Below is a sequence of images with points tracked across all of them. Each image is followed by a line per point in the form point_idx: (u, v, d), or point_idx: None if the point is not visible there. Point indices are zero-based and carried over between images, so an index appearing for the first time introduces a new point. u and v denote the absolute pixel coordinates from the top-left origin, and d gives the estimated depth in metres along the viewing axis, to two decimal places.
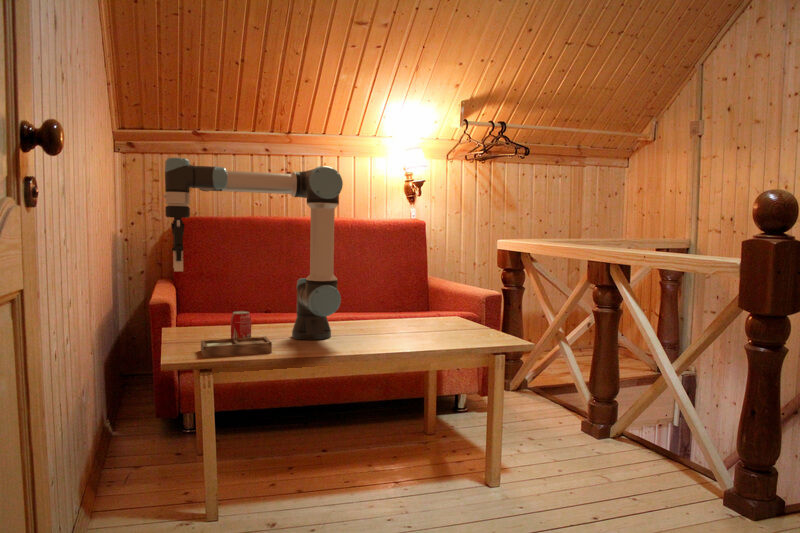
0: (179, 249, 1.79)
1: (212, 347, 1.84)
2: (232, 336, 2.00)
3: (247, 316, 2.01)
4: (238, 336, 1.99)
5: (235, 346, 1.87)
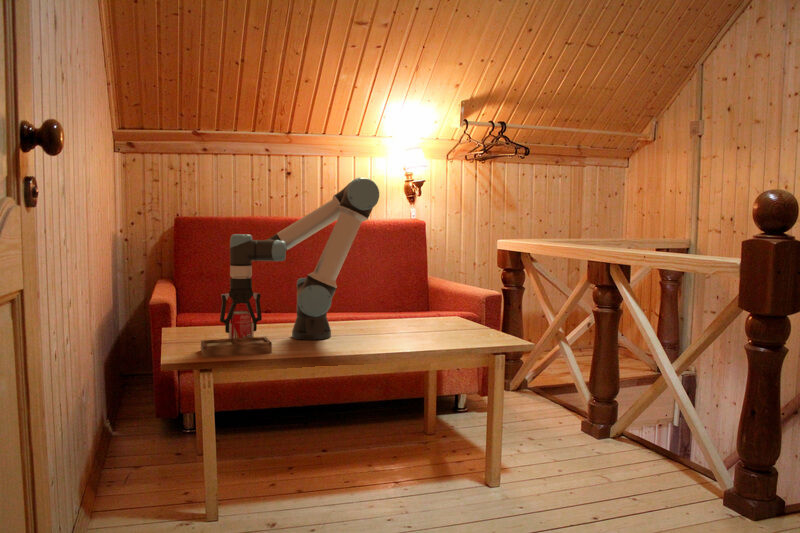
0: None
1: (212, 347, 1.84)
2: (232, 336, 2.00)
3: (247, 316, 2.01)
4: (238, 336, 1.99)
5: (235, 346, 1.87)
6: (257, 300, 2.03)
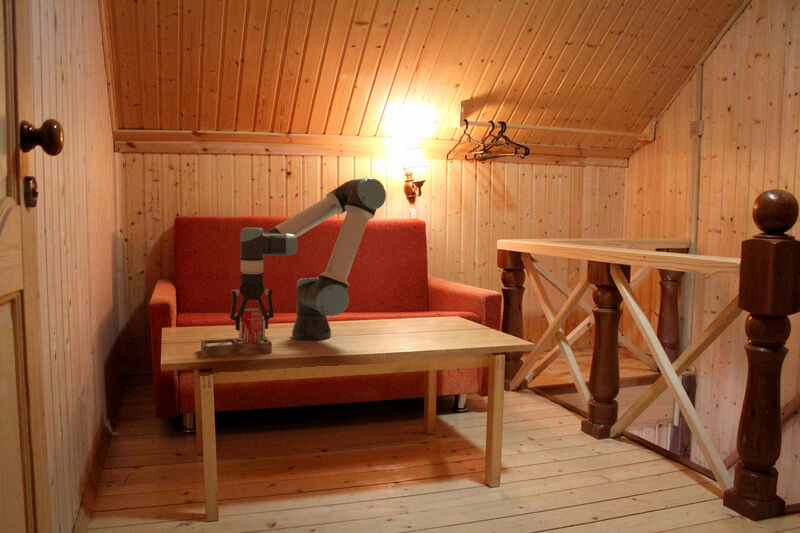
0: (232, 319, 1.91)
1: (212, 347, 1.84)
2: (243, 334, 1.92)
3: (258, 313, 1.92)
4: (249, 334, 1.91)
5: (235, 346, 1.87)
6: (269, 296, 1.95)
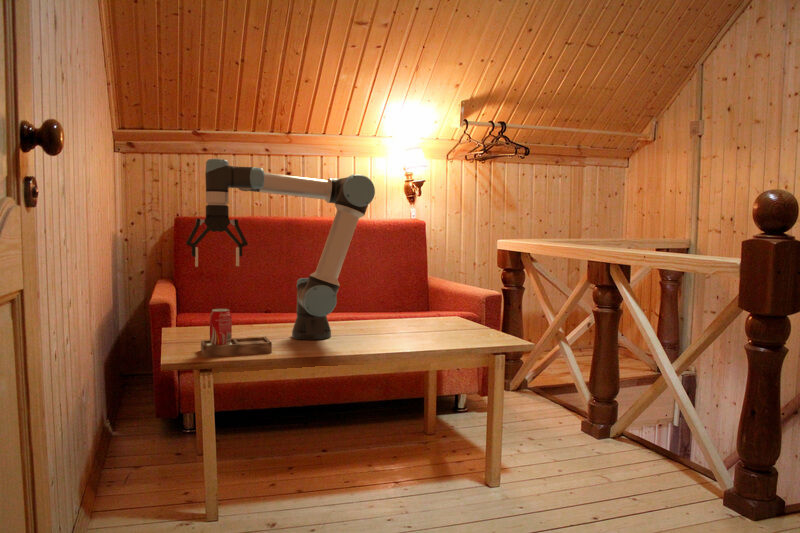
0: (188, 245, 1.91)
1: (212, 347, 1.84)
2: (211, 335, 1.88)
3: (227, 314, 1.88)
4: (217, 335, 1.87)
5: (235, 346, 1.87)
6: (236, 226, 1.96)
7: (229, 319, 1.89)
